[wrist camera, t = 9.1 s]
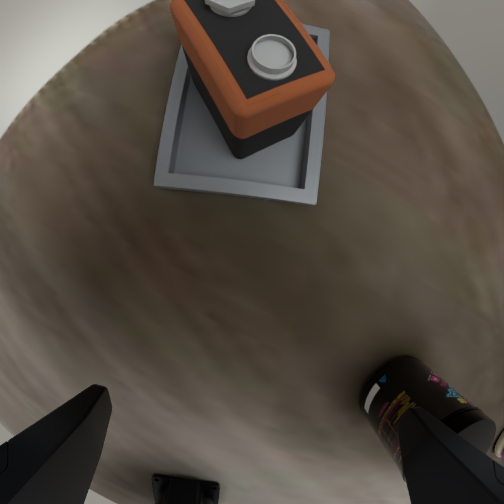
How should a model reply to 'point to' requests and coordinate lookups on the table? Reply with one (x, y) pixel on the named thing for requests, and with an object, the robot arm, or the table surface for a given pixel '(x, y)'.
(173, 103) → the battery bay
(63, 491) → the robot arm
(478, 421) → the supplement container
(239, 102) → the battery
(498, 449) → the stacking toy
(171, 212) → the table surface
